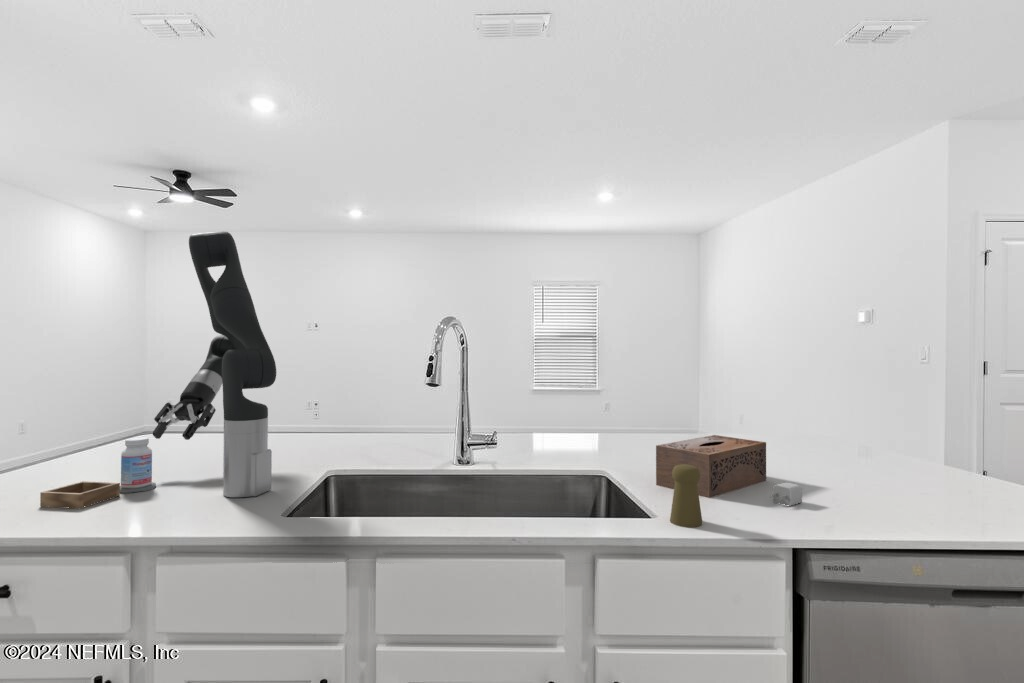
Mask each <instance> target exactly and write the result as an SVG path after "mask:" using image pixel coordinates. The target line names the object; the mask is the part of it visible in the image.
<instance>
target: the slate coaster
mask: <svg viewBox="0 0 1024 683" xmlns="http://www.w3.org/2000/svg"><path fill="white" fill-rule="evenodd" d="M154 487H155V488H157V483H156V482H153V481H152V483H151V484H150V485H148V486H145V487H141V488H134V489H129V488H122V487H121V485H120V494H133V493H132V492H136V493H141V492H140V491H142V492H146V491H145V490H147V491H149V489H151V490H153V489H155V488H154ZM152 488H153V489H152Z"/></svg>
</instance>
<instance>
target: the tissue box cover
mask: <svg viewBox="0 0 1024 683" xmlns="http://www.w3.org/2000/svg"><path fill="white" fill-rule="evenodd" d="M682 464H686V465H692V466H695V467H697V468H698V469H699V471H700V479H699V482H698V483H697V486H698V494H699V497H703V498H707V499H711V498H714V497H717V496H721V495H723V494H727V493H730V492H734V491H737V490H740V489H743V488H747V487H750V486H755V485H756V484H757V485H758V484H760V483H763V482H767V442H766V441H759V440H751V439H745V438H739V437H738V438H737V437H732V436H731V437H730V436H724V435H716V434H712V435H707V436H702V437H696V438H690V439H686V440H680V441H673V442H668V443H667V442H666V443H662V444H658V445H655V469H656V470H655V482H656V483H655V484H656V486H658V487H661V488H662V487H663V488H667V489H670V490H674V487H675V481H674V479H673V477H672V471H673V468H674V467H675V466H676V465H682Z"/></svg>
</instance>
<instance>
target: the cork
mask: <svg viewBox="0 0 1024 683" xmlns="http://www.w3.org/2000/svg"><path fill="white" fill-rule="evenodd" d="M672 477H673V479H674V481H675V487H674V489H673V495H672V503H671V510H670V518H669V521H670V523H671V524H672V525H675V526H677V527H682V528H698V527H702V526H703V524H702V523H703V517H702V510H701V502H700V496H699V494H698V486H697V483H698V482H699V479H700V471H699V469H698V468H697V467H695V466H692V465H686V464H682V465H676V466H675V467H674V468H673V471H672Z"/></svg>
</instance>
